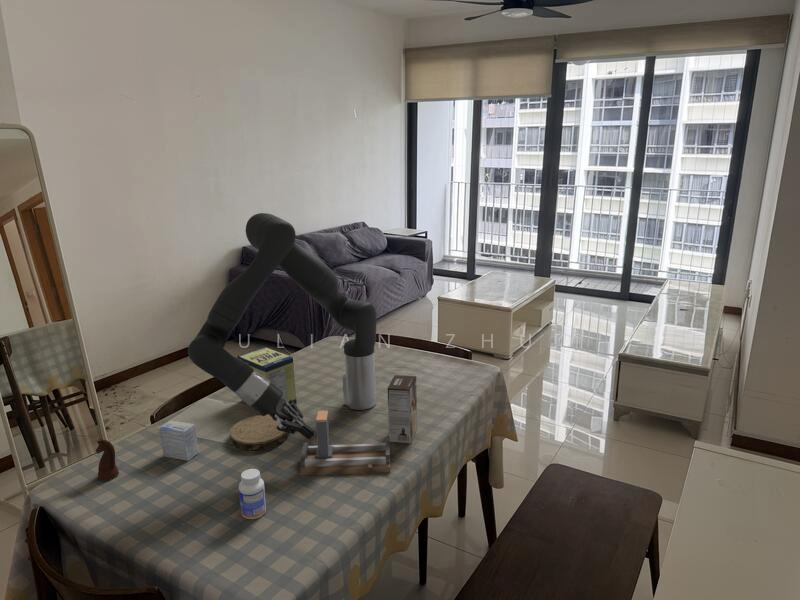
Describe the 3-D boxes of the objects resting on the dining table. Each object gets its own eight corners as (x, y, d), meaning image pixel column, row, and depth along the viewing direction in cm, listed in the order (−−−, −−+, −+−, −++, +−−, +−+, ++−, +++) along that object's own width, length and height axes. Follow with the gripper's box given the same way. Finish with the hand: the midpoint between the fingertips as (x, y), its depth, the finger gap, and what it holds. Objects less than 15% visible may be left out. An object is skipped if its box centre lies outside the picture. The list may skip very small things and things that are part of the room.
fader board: (300, 475, 136) (299, 461, 135) (305, 453, 146) (304, 440, 145) (390, 472, 137) (390, 457, 136) (389, 450, 146) (389, 437, 145)
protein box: (268, 390, 185) (264, 346, 181) (297, 403, 175) (294, 356, 171) (240, 400, 177) (236, 355, 173) (270, 415, 167) (265, 367, 163)
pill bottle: (243, 505, 125) (239, 467, 122) (268, 503, 125) (264, 465, 123) (239, 521, 120) (234, 481, 117) (264, 519, 120) (260, 479, 118)
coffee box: (395, 426, 159) (394, 374, 155) (417, 427, 158) (416, 375, 154) (388, 442, 151) (386, 387, 146) (411, 444, 149) (410, 389, 145)
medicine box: (199, 453, 147) (195, 423, 145) (187, 462, 143) (183, 431, 141) (174, 448, 150) (170, 419, 147) (163, 457, 146) (158, 427, 143)
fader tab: (315, 462, 138) (312, 419, 135) (317, 452, 143) (315, 411, 140) (331, 462, 138) (329, 419, 135) (333, 452, 143) (331, 410, 140)
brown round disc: (234, 458, 145) (233, 447, 144) (228, 430, 159) (227, 421, 159) (294, 445, 151) (294, 435, 150) (284, 419, 165) (283, 410, 164)
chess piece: (106, 470, 140) (100, 434, 137) (124, 471, 139) (118, 435, 137) (93, 480, 136) (87, 444, 133) (112, 482, 135) (106, 445, 132)
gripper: (263, 394, 128) (319, 439, 132) (273, 371, 141) (325, 413, 145) (242, 415, 130) (298, 460, 133) (254, 391, 142) (305, 432, 146)
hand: (312, 436), depth 139 cm, fingers closed
